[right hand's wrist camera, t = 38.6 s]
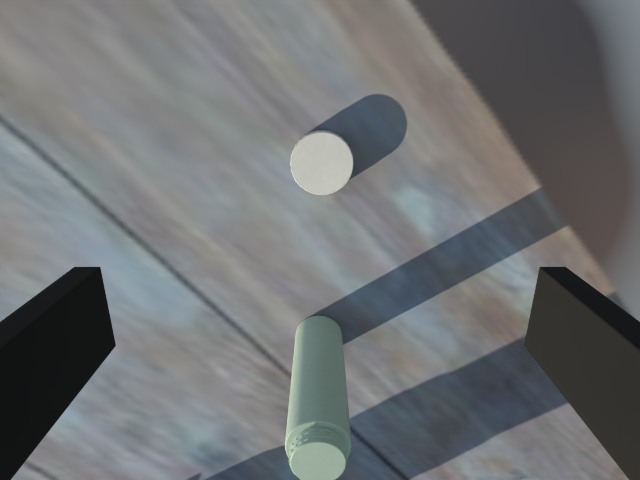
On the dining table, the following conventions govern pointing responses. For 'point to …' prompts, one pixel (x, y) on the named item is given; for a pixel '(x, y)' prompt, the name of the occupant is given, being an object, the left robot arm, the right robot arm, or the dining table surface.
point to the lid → (321, 162)
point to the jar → (318, 403)
